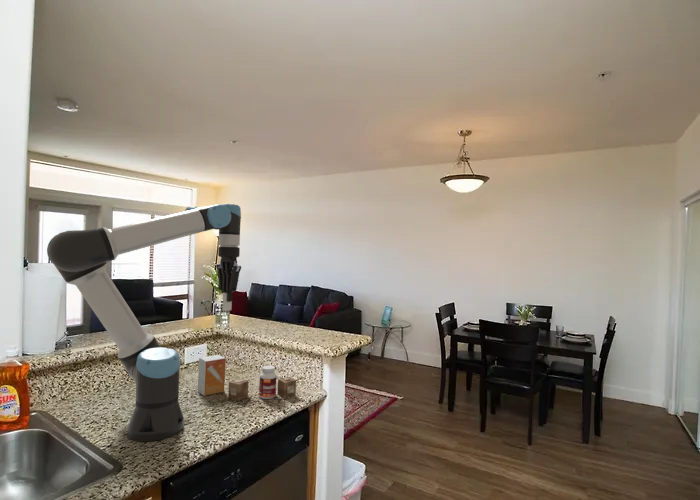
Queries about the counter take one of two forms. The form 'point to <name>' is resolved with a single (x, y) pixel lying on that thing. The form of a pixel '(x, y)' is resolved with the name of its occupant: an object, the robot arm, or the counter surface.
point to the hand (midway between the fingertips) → (227, 310)
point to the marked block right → (286, 387)
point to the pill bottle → (267, 383)
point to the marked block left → (238, 389)
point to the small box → (211, 375)
